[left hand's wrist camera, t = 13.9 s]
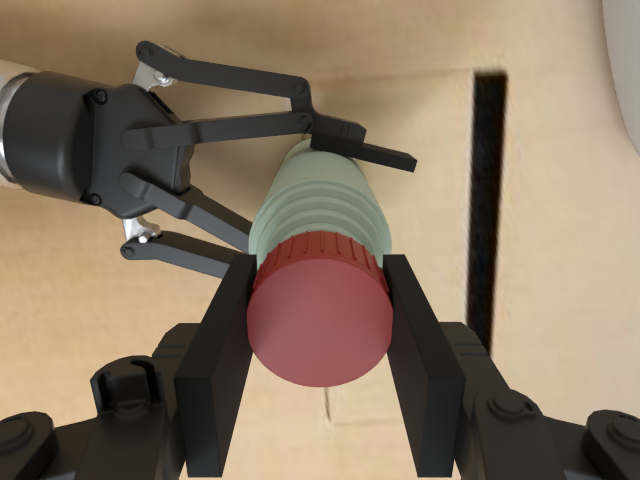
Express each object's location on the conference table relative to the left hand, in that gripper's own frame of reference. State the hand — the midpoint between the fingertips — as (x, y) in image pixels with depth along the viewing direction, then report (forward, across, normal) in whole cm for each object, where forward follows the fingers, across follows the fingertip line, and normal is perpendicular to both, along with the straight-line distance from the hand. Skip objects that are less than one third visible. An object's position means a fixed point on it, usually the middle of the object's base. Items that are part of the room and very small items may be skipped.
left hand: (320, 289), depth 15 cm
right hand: (+13, -5, +1) cm, 14 cm away
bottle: (+19, 0, 0) cm, 19 cm away
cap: (-2, 0, 0) cm, 2 cm away
